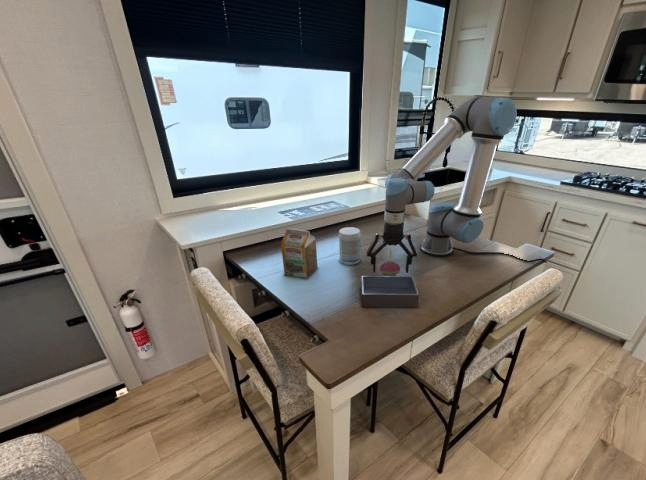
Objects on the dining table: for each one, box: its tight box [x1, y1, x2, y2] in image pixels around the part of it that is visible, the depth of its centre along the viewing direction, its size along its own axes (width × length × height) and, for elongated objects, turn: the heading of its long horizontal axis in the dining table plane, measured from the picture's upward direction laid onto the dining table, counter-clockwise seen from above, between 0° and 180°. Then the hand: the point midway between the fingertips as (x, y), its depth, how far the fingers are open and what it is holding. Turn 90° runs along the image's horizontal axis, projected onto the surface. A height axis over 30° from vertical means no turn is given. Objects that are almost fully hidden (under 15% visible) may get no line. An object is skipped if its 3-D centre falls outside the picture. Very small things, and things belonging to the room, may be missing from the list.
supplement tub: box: [338, 226, 361, 266], centre depth 145 cm, size 10×10×15 cm
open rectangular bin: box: [360, 275, 420, 308], centre depth 121 cm, size 20×14×5 cm
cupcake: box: [379, 249, 401, 276], centre depth 132 cm, size 9×8×12 cm
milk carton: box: [280, 228, 318, 280], centre depth 134 cm, size 11×11×19 cm
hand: (390, 271), depth 133 cm, fingers open, 13 cm apart
